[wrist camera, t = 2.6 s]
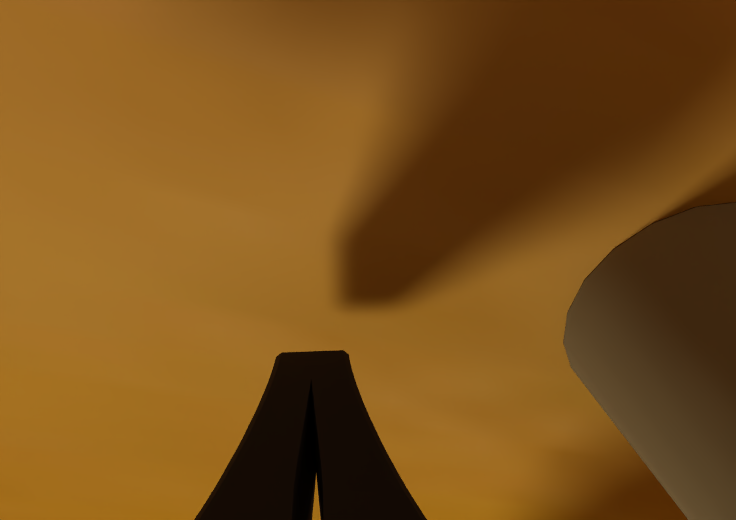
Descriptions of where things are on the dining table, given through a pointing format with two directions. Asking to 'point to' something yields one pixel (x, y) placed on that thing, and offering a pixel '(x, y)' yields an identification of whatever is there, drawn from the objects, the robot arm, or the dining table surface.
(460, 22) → the dining table surface
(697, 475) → the cork
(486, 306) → the dining table surface
